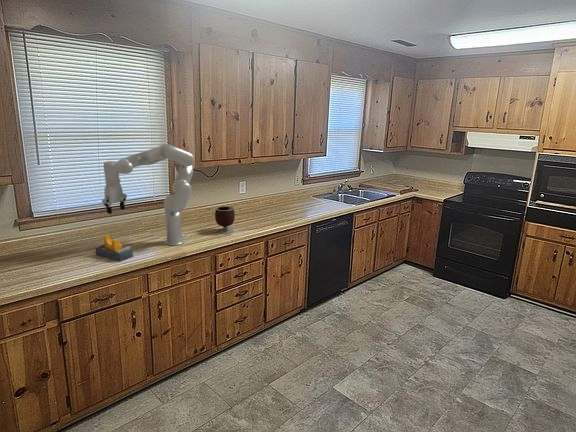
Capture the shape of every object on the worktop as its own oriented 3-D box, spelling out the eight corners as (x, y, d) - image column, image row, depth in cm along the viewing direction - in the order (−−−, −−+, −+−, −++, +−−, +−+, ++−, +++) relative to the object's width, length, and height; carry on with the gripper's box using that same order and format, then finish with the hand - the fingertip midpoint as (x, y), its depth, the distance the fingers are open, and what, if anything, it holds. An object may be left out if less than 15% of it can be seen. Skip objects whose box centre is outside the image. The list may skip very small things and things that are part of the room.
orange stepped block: (122, 249, 225) (121, 238, 224) (115, 251, 222) (114, 240, 220) (111, 244, 233) (110, 234, 231) (104, 246, 229) (103, 236, 228)
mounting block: (109, 250, 237) (108, 241, 235) (133, 256, 228) (132, 246, 227) (96, 255, 229) (95, 245, 228) (120, 261, 221) (119, 251, 219)
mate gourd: (219, 235, 272) (218, 207, 267) (212, 229, 284) (212, 203, 279) (239, 232, 279) (239, 205, 274) (232, 227, 291) (232, 201, 286)
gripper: (119, 179, 235) (122, 207, 240) (95, 185, 220) (99, 214, 224) (129, 180, 232) (132, 208, 237) (105, 186, 217) (109, 215, 221)
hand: (116, 211), depth 231 cm, fingers open, 9 cm apart
